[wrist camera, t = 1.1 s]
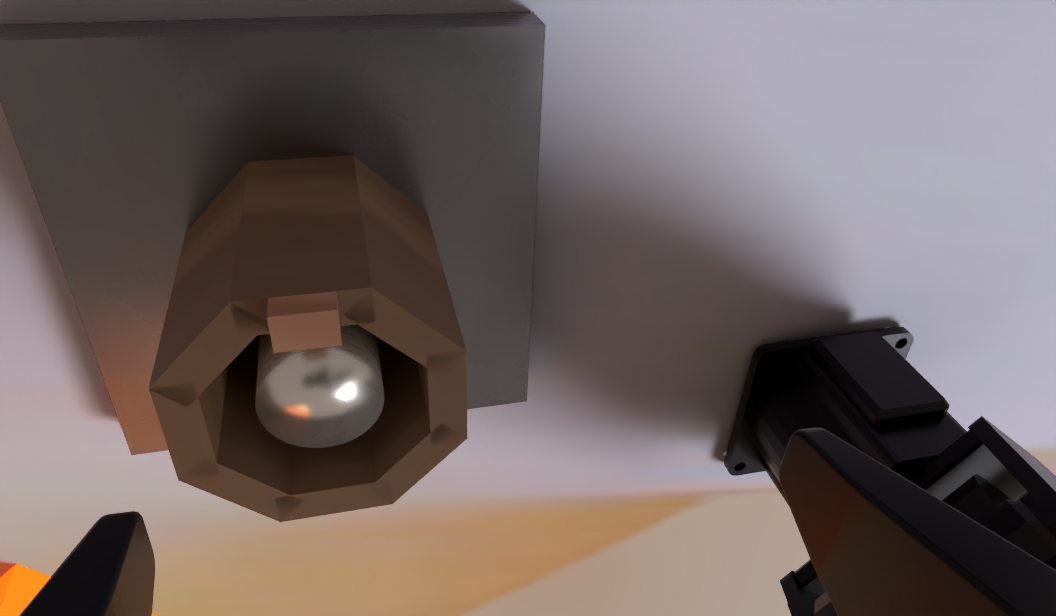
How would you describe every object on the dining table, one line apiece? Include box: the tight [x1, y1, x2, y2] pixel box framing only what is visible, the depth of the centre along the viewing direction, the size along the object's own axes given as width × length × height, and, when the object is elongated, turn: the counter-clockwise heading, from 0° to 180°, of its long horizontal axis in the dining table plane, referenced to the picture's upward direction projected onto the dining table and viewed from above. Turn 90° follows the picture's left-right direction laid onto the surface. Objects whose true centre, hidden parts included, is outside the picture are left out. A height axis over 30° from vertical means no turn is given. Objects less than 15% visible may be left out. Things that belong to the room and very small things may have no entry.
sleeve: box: [149, 155, 467, 522], centre depth 18 cm, size 6×6×7 cm
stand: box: [0, 12, 545, 455], centre depth 19 cm, size 12×12×7 cm
